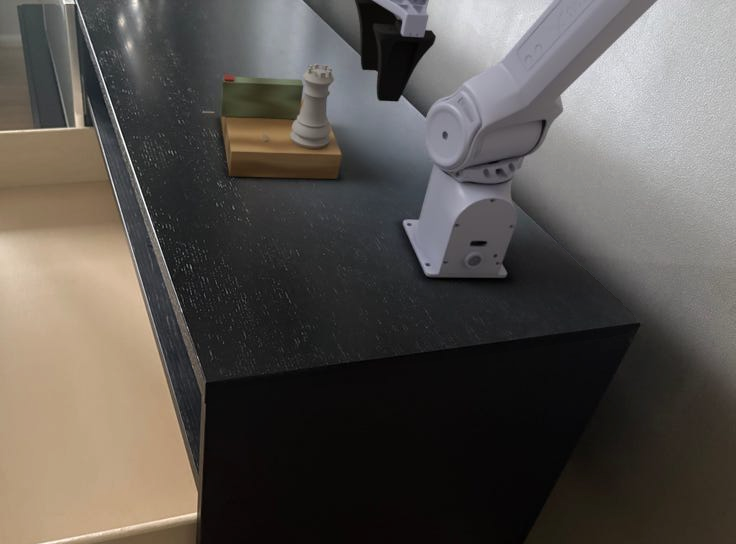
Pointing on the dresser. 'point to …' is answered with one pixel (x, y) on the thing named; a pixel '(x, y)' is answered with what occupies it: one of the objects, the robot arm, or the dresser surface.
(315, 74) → the rook chess piece
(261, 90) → the green flat block
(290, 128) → the base
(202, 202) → the dresser surface
